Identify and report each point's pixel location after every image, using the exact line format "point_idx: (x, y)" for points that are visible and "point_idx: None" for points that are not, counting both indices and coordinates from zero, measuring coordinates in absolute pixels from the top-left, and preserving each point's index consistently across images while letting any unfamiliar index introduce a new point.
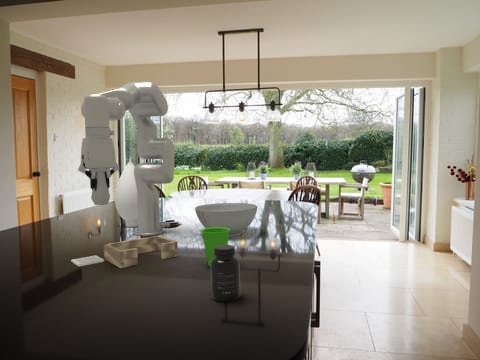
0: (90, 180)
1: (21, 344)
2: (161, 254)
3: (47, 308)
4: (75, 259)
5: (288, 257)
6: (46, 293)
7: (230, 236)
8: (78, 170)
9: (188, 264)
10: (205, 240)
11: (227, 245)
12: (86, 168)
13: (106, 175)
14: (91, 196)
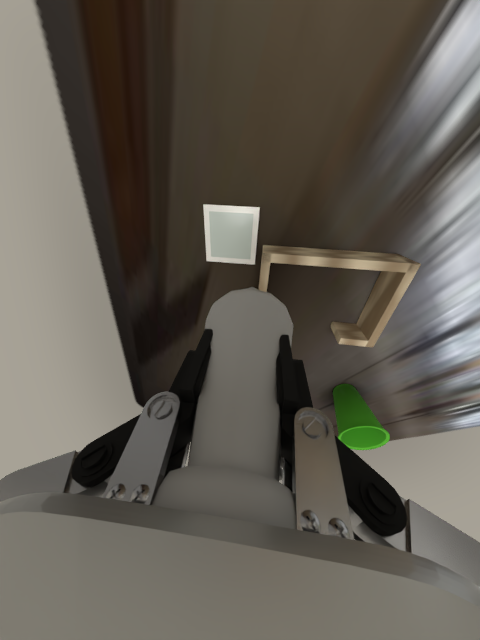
0: (172, 392)
1: (142, 400)
2: (334, 326)
3: (156, 370)
4: (211, 212)
5: (419, 422)
6: (155, 339)
7: None
8: (8, 481)
9: (328, 367)
10: (338, 422)
11: (279, 477)
12: (54, 503)
13: (286, 458)
14: (205, 324)
